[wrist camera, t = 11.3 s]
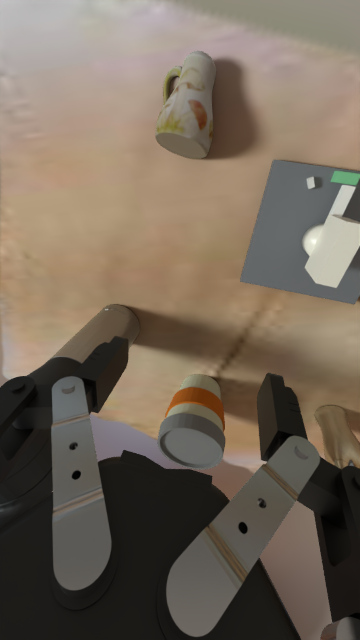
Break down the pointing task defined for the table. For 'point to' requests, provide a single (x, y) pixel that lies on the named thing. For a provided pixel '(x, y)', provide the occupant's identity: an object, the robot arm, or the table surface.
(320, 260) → the peg knob
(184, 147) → the mug
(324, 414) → the beer glass
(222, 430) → the reusable coffee cup
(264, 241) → the dial board
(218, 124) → the table surface
